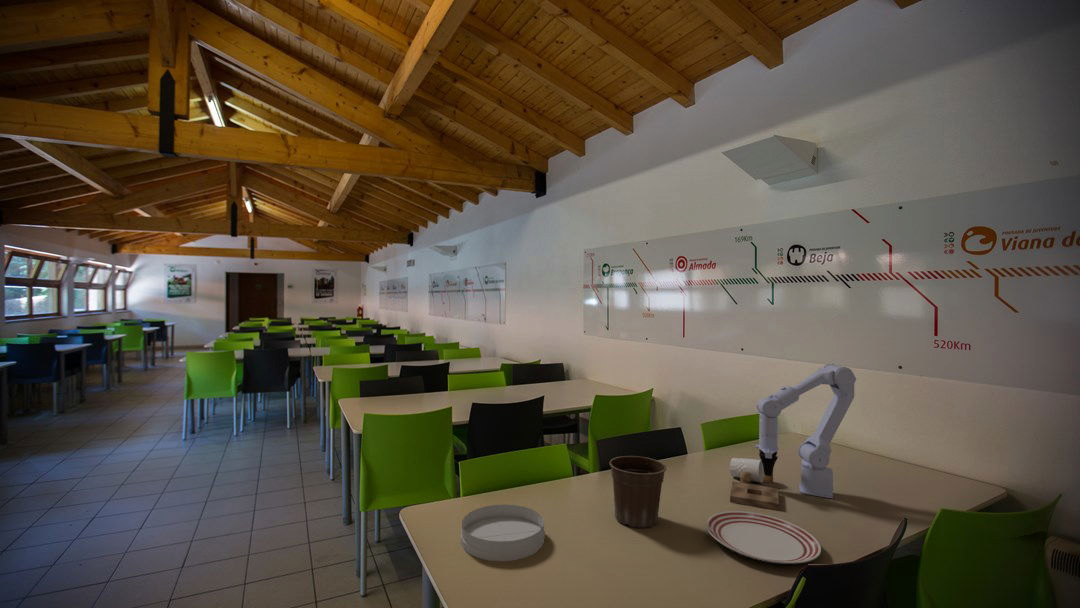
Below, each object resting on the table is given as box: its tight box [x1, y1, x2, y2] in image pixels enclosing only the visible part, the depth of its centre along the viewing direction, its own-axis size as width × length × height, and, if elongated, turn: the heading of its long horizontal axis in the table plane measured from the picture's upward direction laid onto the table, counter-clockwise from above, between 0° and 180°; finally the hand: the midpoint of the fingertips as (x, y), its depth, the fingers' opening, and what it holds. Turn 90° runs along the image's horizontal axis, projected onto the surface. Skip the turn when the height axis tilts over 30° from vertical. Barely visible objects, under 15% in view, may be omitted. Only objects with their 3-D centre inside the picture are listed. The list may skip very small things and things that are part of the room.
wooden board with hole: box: [729, 481, 780, 511], centre depth 159 cm, size 14×14×2 cm
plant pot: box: [609, 455, 667, 529], centre depth 142 cm, size 16×16×16 cm
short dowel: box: [740, 472, 751, 484], centre depth 171 cm, size 3×3×4 cm
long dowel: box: [762, 469, 774, 484], centre depth 166 cm, size 3×3×7 cm
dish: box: [460, 503, 546, 562], centre depth 128 cm, size 22×22×5 cm
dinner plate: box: [705, 510, 822, 565], centre depth 128 cm, size 27×27×3 cm
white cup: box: [729, 457, 764, 484], centre depth 176 cm, size 8×8×10 cm
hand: (768, 473), depth 166 cm, fingers closed on long dowel, 3 cm apart
